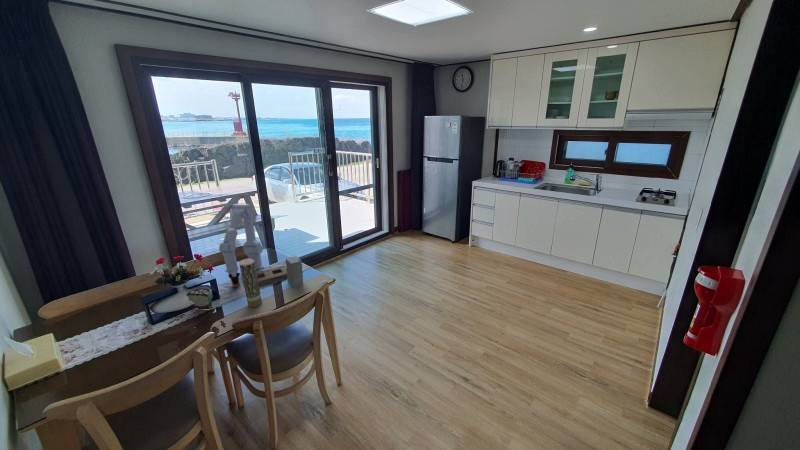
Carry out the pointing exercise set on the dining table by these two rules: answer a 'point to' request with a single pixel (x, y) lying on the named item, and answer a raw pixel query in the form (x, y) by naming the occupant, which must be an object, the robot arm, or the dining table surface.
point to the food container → (200, 298)
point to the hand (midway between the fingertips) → (235, 282)
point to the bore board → (272, 275)
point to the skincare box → (294, 271)
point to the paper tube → (250, 282)
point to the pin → (236, 284)
